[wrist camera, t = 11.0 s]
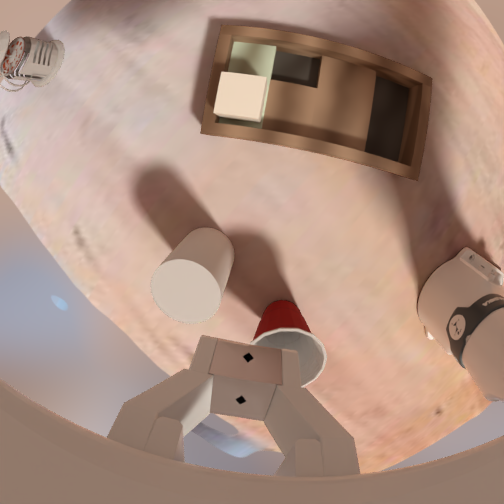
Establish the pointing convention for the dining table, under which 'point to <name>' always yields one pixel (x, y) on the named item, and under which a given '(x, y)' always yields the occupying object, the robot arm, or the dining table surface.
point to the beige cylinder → (194, 276)
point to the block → (241, 96)
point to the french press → (30, 59)
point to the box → (325, 99)
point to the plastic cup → (291, 338)
